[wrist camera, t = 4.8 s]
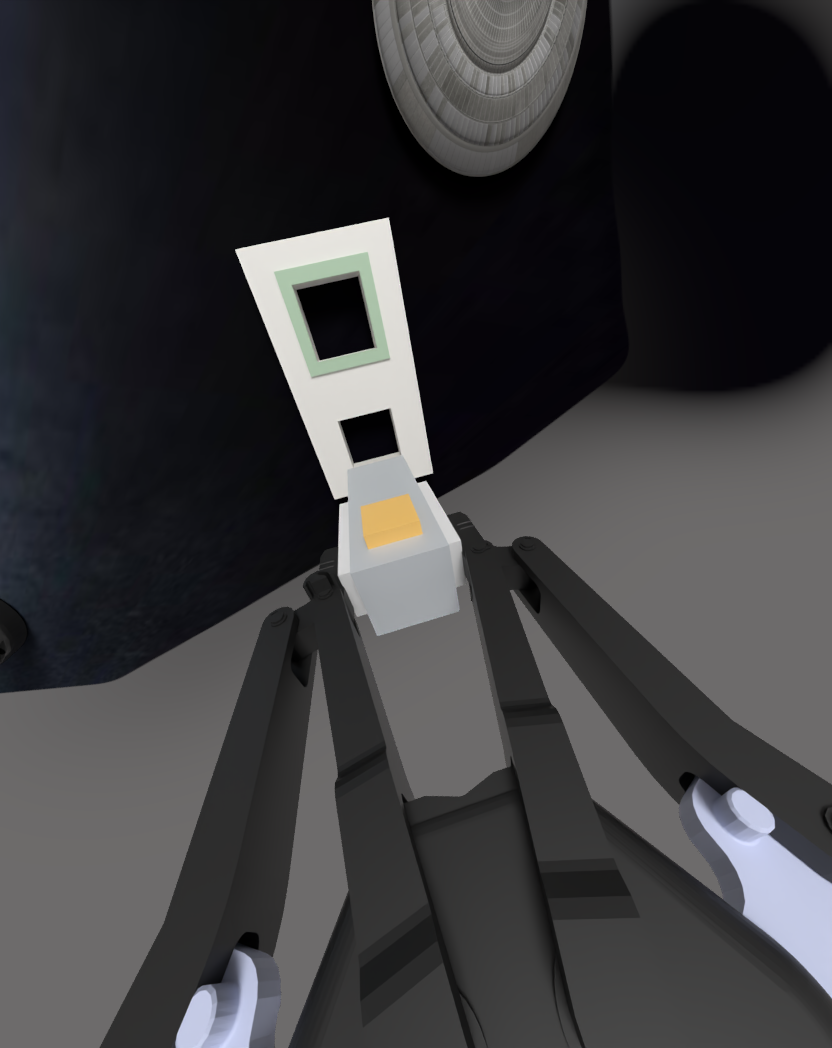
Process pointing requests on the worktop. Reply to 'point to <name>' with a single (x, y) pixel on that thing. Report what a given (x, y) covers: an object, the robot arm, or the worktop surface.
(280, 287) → the panel
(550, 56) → the flying saucer
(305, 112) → the worktop surface
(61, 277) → the worktop surface
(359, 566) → the plug
